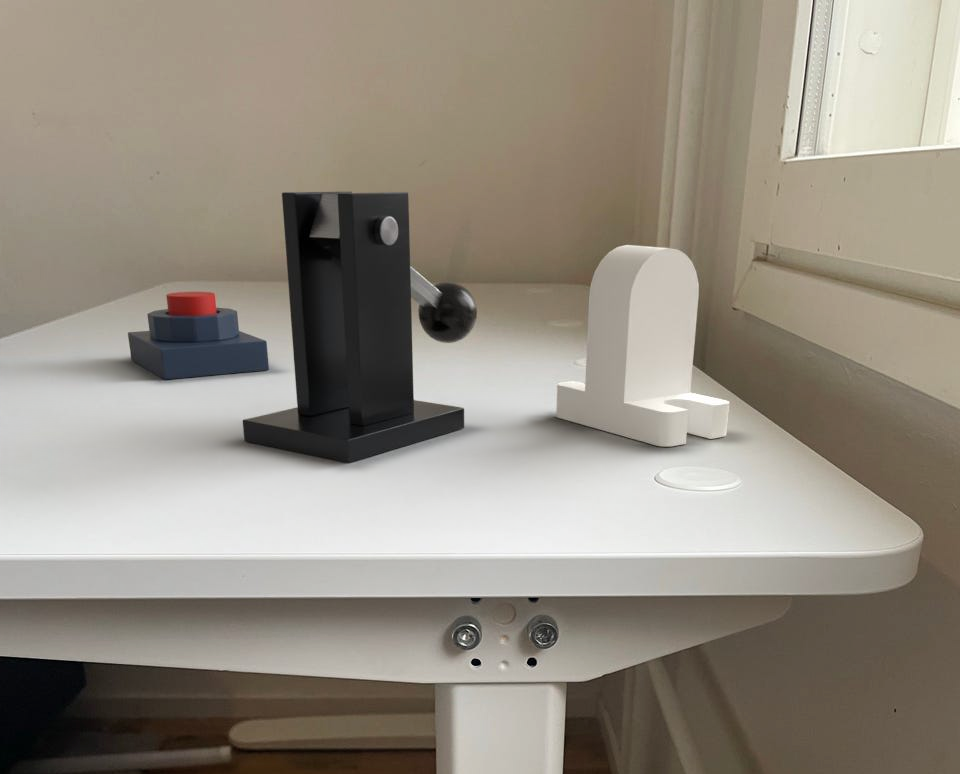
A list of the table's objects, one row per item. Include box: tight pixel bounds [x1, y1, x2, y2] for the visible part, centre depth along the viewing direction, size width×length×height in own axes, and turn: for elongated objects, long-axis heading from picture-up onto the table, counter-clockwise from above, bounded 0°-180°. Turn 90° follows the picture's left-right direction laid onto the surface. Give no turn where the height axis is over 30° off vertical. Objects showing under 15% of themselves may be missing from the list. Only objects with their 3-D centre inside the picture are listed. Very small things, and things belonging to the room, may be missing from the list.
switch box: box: [127, 307, 270, 381], centre depth 79 cm, size 10×8×4 cm
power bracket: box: [242, 190, 465, 463], centre depth 56 cm, size 10×8×13 cm
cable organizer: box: [555, 244, 730, 448], centre depth 59 cm, size 5×10×10 cm, turn 35°
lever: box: [309, 194, 478, 344], centre depth 59 cm, size 13×4×4 cm
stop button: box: [165, 291, 217, 316], centre depth 78 cm, size 4×4×2 cm
